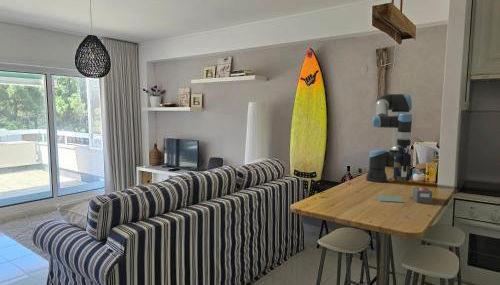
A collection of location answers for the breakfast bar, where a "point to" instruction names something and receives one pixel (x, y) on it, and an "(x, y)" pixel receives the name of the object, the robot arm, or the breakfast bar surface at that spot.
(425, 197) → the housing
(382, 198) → the mat
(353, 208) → the breakfast bar surface
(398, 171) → the canister
